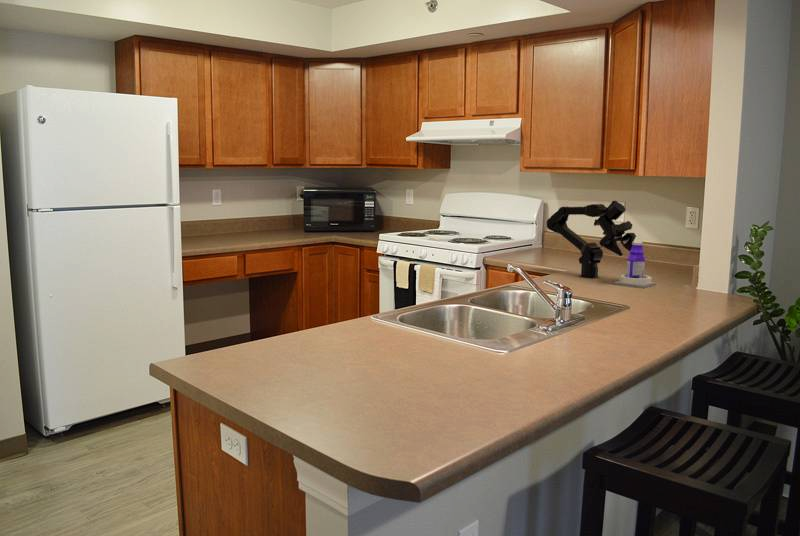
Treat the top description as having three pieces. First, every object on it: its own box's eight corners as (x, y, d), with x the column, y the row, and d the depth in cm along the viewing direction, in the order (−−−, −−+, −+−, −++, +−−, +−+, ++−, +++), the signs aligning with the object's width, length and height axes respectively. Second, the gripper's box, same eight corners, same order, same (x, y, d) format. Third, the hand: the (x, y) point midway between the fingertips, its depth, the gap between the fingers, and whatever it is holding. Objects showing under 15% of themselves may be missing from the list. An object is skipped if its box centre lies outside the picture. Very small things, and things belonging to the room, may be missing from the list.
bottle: (637, 280, 291) (639, 240, 288) (646, 282, 286) (648, 242, 283) (623, 281, 288) (625, 241, 286) (632, 283, 283) (634, 242, 281)
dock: (613, 284, 287) (614, 276, 286) (627, 281, 296) (627, 273, 296) (643, 288, 278) (644, 280, 277) (656, 284, 287) (656, 276, 287)
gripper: (606, 215, 285) (627, 244, 278) (633, 214, 296) (654, 241, 288) (590, 232, 292) (610, 260, 285) (617, 230, 303) (637, 257, 296)
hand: (628, 254), depth 288 cm, fingers open, 9 cm apart
